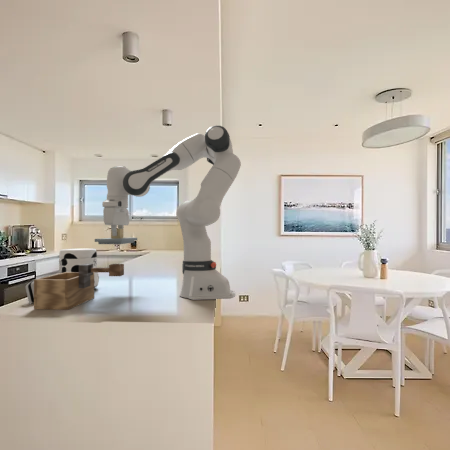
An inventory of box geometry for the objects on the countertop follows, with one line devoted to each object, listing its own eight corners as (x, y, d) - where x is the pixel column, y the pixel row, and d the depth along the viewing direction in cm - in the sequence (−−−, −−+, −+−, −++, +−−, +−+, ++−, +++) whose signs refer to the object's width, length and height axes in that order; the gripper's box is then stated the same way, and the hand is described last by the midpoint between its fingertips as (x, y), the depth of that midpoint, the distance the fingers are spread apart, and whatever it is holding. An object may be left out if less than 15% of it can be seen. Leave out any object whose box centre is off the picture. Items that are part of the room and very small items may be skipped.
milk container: (106, 287, 163) (106, 248, 163) (82, 294, 147) (82, 251, 147) (75, 285, 168) (75, 248, 168) (47, 292, 151) (47, 250, 151)
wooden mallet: (123, 274, 130) (123, 263, 130) (119, 276, 126) (119, 265, 126) (95, 274, 131) (94, 263, 131) (90, 276, 127) (90, 264, 127)
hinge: (41, 304, 128) (32, 278, 129) (30, 308, 129) (21, 282, 129) (66, 295, 145) (58, 272, 145) (56, 298, 145) (48, 275, 146)
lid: (137, 242, 162) (137, 228, 162) (121, 244, 143) (121, 229, 143) (113, 242, 163) (113, 229, 163) (94, 244, 144) (94, 229, 144)
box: (101, 297, 139) (101, 261, 139) (76, 309, 119) (76, 267, 119) (64, 297, 140) (64, 261, 140) (33, 309, 120) (33, 267, 120)
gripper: (119, 205, 164) (119, 235, 164) (100, 202, 143) (100, 236, 143) (132, 205, 163) (132, 235, 163) (115, 202, 143) (115, 236, 143)
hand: (117, 235), depth 153 cm, fingers closed on lid, 4 cm apart
